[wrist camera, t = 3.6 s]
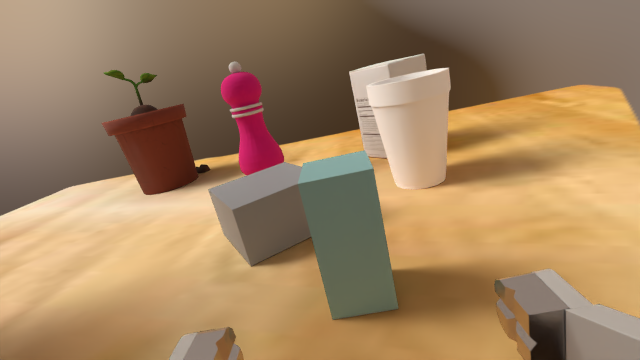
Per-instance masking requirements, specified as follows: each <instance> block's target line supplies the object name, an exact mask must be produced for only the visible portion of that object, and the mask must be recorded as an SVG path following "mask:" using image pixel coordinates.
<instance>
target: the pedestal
mask: <svg viewBox="0 0 640 360" xmlns="http://www.w3.org/2000/svg"><path fill="white" fill-rule="evenodd" d="M301 170H302V167H300V166H296V165H293V164H289V163H286V162H283V163H281V164H278V165H275V166H272V167H269V168H267V169H264V170H261V171H258V172H256V173H253V174H250V175H247V176H244V177H242V178H239V179H236V180H233V181H230V182H228V183H225V184H222V185H219V186H216V187H214V188H211V189H208V190H209V193H210V196H211V199H212V202H213V205H214V207H215V210H216V213H217V216H218V219H219V222H220V224H221V227H222V230H223V233H224V235H225V236H226V238H227V239H228V240H229V241H230V242H231V243H232V245H233V246H234V247H235V248H236V249H237V251H238V252H239V253H240V254H241V255H242V256H243V258H244V259H245V260H246V261H247V262H248V263H249V265H250V266H253V265H255V264H257V263H259V262H261V261H263V260H265V259H267V258H269V257H271V256H273V255H275V254H277V253H279V252H281V251H283V250H285V249H287V248H289V247H291V246H293V245H296V244H298V243H300V242H302V241H304V240H306V239H308V238H310V237H311V234H310V230H309V226H308V222H307V218H306V214H305V211H304V207H303V203H302V199H301V195H300V191H299V187H298V181H299V177H300V173H301Z"/></svg>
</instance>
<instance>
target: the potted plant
mask: <svg viewBox="0 0 640 360" xmlns="http://www.w3.org/2000/svg"><path fill="white" fill-rule="evenodd" d="M104 74H106V75H108V76H112V77H115V78H119V79H122V80H126V81H129V82H131V83H132V84H133V85H134V87H135V90H136V93H137V96H138V99H139V103H140V106H138V107H137V108H135V109H134V110H133V112H132V113H131V116H130V117H126V118H121V119H117V120H113V121H109V122H104V123H102V125H103V127H104V128H105V130H106V132H107V134H108V135H109V136H112V135H115V137H116V139H117V141H118V143H119V144H120V147H121V149H122V151H123V152H124V155H125V157H126V158H127V161H128V163H129V165H130V166H131V168H132V170H133V173H134V175H135V177H136V179H137V181H138V182H139V184H140V186H141V188H142V190H143V192H144V194H146V195H152V194H159V193H163V192H167V191H170V190H173V189H176V188H179V187H182V186H184V185H186V184H188V183H191V182H192V181H194V180H196V179H197V178H198V174H197V173H204V172H206V171H209V170H210V168H209V167H208V165H200V167H195V163H194V160H193V156H192V153H191V149H190V145H189V142H188V138H187V135H186V131H185V128H184V124H183V121H182V118H184V117H186V113H185V108H184V104H180V105H176V106H173V107H168V108H163V109H160V110H158V109H156V108H155V107H153V106H151V105H143V103H142V100H141V97H140V94H139V92H138V89H137V87H138V85H139V84H140V83H148V82H151V81H152V80H153V79H154V77H156V76H157V75H152V74H149V73H144V74H142V75H141V76H140V79H141V82H138V83H137V84H135V83H134V82H133V81H132V80H129V79H125V78H124V75H123V73H121V72H120V71H117V70H111V71H109V72H105V73H104Z"/></svg>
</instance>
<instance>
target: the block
mask: <svg viewBox="0 0 640 360" xmlns="http://www.w3.org/2000/svg"><path fill="white" fill-rule="evenodd" d="M298 187H299V191H300V195H301V199H302V203H303V207H304V211H305V214H306V218H307V222H308V226H309V230H310V234H311V238H312V241H313V245H314V249H315V253H316V257H317V261H318V265H319V269H320V272H321V276H322V280H323V284H324V288H325V292H326V296H327V299H328V303H329V307H330V311H331V315H332V319H333V320H334V319H340V318H346V317H352V316H358V315H364V314H370V313H376V312H383V311H389V310H395V309H399V308H398V302H397V297H396V291H395V286H394V280H393V275H392V269H391V263H390V258H389V252H388V247H387V241H386V236H385V230H384V225H383V219H382V214H381V208H380V202H379V197H378V191H377V186H376V180H375V175H374V169H373V167H372V164H371V162H370V160H369V158H368V156H367V153H366V151H360V152H355V153H350V154H346V155H341V156H336V157H331V158H327V159H322V160H317V161H312V162H307V163H303V166H302V170H301V173H300V177H299V181H298Z"/></svg>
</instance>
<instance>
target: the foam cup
mask: <svg viewBox="0 0 640 360" xmlns="http://www.w3.org/2000/svg"><path fill="white" fill-rule="evenodd" d="M366 89H367V94H368V100H369V105H370V106H371V107H372V110H373V113H374V116H375V119H376V123H377V126H378V129H379V132H380V136H381V139H382V142H383V145H384V149H385V152H386V155H387V158H388V162H389V165H390V168H391V171H392V175H393V178H394V180H395V183H396V185H397V186H398V187H401V188H403V189H423V188H429V187H432V186H436V185H438V184H440V183H442V182H443V181H444V180H445V178H446V163H447V133H448V103H449V102H448V101H449V91H450V89H451V87H450V76H449V68H441V69H433V70H427V71H422V72H416V73H412V74H407V75H402V76H398V77H394V78H390V79H386V80H382V81H378V82H375V83H371V84H369V85H367V86H366Z"/></svg>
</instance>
